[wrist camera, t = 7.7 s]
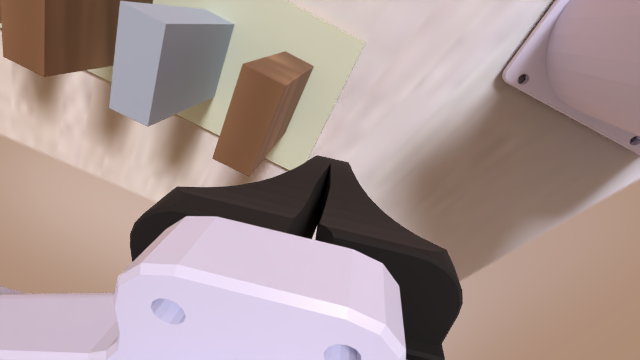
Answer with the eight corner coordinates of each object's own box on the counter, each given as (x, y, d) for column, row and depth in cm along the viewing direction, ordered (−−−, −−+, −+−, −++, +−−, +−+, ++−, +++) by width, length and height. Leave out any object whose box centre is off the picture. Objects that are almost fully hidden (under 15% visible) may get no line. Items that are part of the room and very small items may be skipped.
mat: (365, 42, 17) (365, 42, 16) (300, 173, 21) (299, 175, 21) (-89, -201, 15) (-97, -205, 15) (-61, -5, 19) (-67, -6, 19)
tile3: (155, -17, 17) (44, -39, 11) (143, 61, 19) (44, 76, 13) (124, -33, 17) (-4, -63, 11) (115, 47, 19) (3, 57, 13)
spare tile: (234, 24, 17) (166, 23, 11) (214, 96, 19) (147, 126, 13) (204, 8, 17) (120, 0, 11) (187, 83, 19) (108, 108, 13)
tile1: (313, 66, 17) (285, 86, 12) (285, 132, 19) (249, 176, 14) (285, 51, 17) (242, 63, 12) (259, 119, 19) (212, 158, 14)
